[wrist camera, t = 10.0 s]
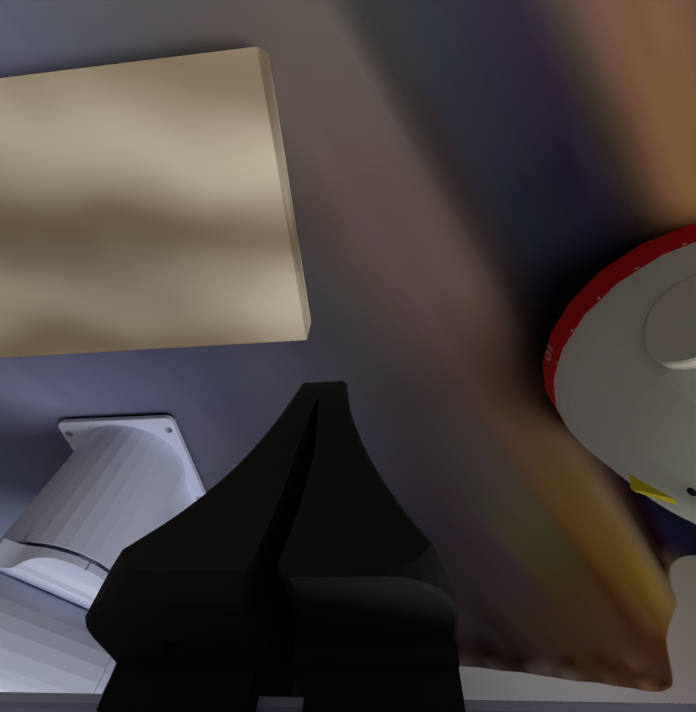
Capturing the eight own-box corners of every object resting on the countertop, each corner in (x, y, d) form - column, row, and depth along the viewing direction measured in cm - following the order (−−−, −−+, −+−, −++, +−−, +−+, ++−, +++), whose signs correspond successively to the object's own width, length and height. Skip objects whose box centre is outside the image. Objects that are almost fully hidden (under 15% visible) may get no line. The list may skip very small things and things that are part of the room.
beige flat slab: (311, 321, 22) (306, 339, 20) (-19, 342, 24) (-48, 360, 22) (268, 52, 16) (256, 46, 14) (-179, 106, 17) (-237, 107, 16)
